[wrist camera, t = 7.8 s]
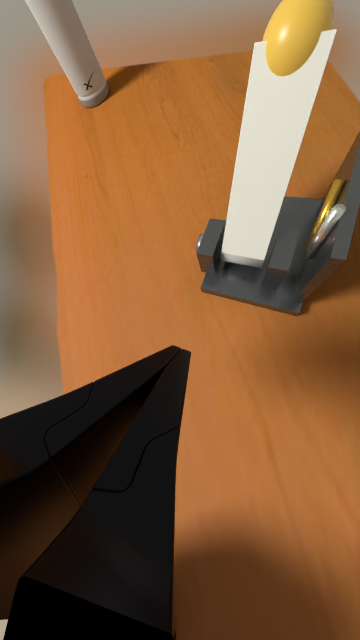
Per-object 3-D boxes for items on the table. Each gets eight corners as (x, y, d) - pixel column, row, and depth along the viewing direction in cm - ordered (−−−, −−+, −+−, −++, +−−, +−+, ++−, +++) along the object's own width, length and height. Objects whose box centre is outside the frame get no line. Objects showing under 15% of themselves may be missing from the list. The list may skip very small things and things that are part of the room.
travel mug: (103, 106, 37) (-25, -164, 18) (78, 110, 39) (-61, -131, 20) (115, 83, 38) (5, -194, 19) (90, 88, 40) (-32, -160, 21)
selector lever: (259, 275, 18) (362, -54, 8) (217, 266, 19) (262, -26, 9) (264, 260, 20) (347, -3, 10) (226, 254, 21) (270, 13, 12)
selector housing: (296, 316, 19) (350, 271, 10) (192, 289, 22) (169, 239, 14) (326, 207, 21) (390, 97, 13) (226, 198, 25) (224, 108, 16)
